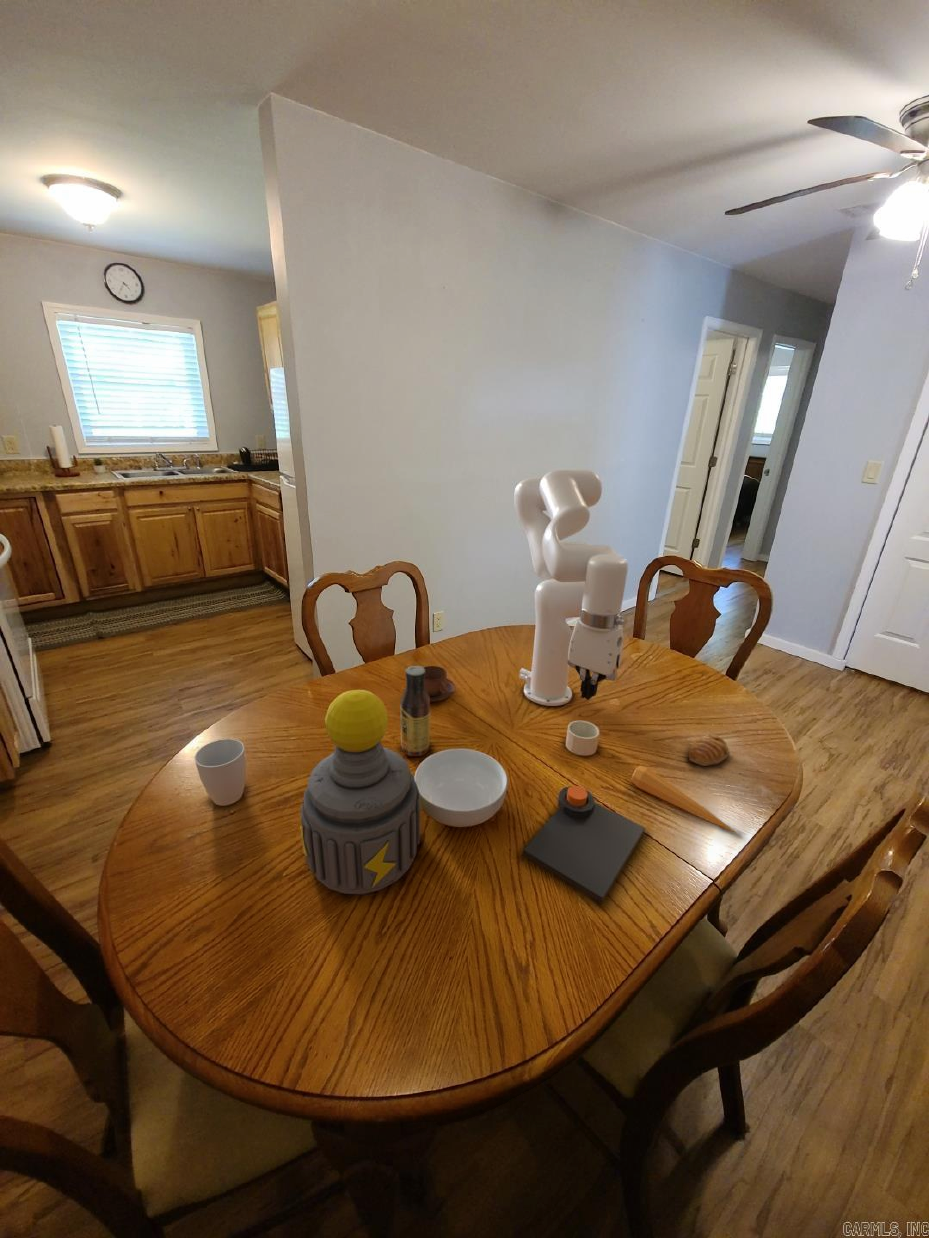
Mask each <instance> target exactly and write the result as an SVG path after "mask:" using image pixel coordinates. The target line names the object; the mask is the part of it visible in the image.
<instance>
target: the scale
mask: <svg viewBox="0 0 929 1238" xmlns="http://www.w3.org/2000/svg"><path fill="white" fill-rule="evenodd" d="M571 786H572V785H568V786H565V787H563V788H562V789H561V790H560V791H559V792H558V796H557V806H558V809H557V810H556V812H554V813H553V815H552V816H551V817H550V818H549V819H548V820H547V822H546V823H545V824H544V825H543V827H542V828H541V829H540V830H539V831H538V832H537V833H536V835H534V837H533V838H532V839H531V840H530V841H529V843H528V844H527V845H526V846H525V847H524V849H523V852H522V856H523V857H525V858H526V859H528V860H529V861H531V862H532V863H534V864H535V865H537V866H539V867H540V868H542V869H544V870H546V871H547V872H549V874H552V875H553V876H555V877H557V878H559V879H560V880H561V881H563V882H565V883H567V884H568V885H570V886H571V887H572V888H574V889H576V890H578V891H579V892H581V893H583V894H584V895H585V896H587V897H589V898H590V899H592V900H594V901H595V902H597V903H599V904H600V905H602V904H603V903H604V901H605V900H606V898H607V896H608V895H609V893H610V892H611V890H612V888H613V886H614V884H615V883H616V882H617V880H618V878H619V876H620V875H621V873H622V871H623V869H624V868H625V866H626V865H627V863H628V861H629V860H630V858H631V856H632V854H633V853H634V851H635V849H636V848H637V846H638V844H639V843H640V841H641V839H642V838H643V837H644V834H645V832H646V831H645V830H646V827H644V826H642V825H641V824H639V823H636V822H635V821H632V820H631V819H628V818H627V817H625V816H623V815H620V814H619V813H617V812H614V810H613V811H612V810H610V809H609V808H606V807H604V806H602V805H601V804H599V803H596V801H595V797H594V795H593V794H592V793H591V792H590V791H589V790H588V789H585V790H586V791H587V794H588V795H587V801H586V804H585V805H584V806H582V807H577V806H573V805H571V804H569V803H568V801H567V791H568V788H569V787H571Z"/></svg>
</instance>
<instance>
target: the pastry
mask: <svg viewBox="0 0 929 1238" xmlns="http://www.w3.org/2000/svg"><path fill="white" fill-rule="evenodd" d="M730 755H731V752H730V750H729V747H728V744H727V742H726V740H725V739H723V738H722V737H720V736H718V735H713V734H706V735H704V736H702V737H700V738H697V739H696V740H695V741H694V742H693V743H692V744H691V746H690V749H689V752H688V760H689V761H691V762H693V763H695V764H697V765H700V766H703V767H709V766H714V765H718V764H719V763H721V762H722V761H725V760H726V759H727V758H728V757H729V756H730Z"/></svg>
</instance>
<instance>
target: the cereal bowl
mask: <svg viewBox="0 0 929 1238" xmlns="http://www.w3.org/2000/svg"><path fill="white" fill-rule="evenodd" d="M413 777H414V780H415V782H416V784H417V787H418V790H419V794H420V804H421V807H422V811H423V812H425V814H426V815H428V817H430V818H431V819H433V820H435V821H436V822H438V823H439V824H442V825H445V826H449V827H455V828H466V827H467V828H469V827H474V826H478V825H481V824H482V823H484V822H486V821H488V820H490V819H491V818H493V817H494V815H496V813H497V812H498V811H499V810H500V809H501V807H502V806H503V804H504V801H505V799H506V795H507V791H508V782H509V781H508V775H507V773H506V771H505V768H504V767H503V766H502V765H501V763H500V762H499V761H497V760H496V759H495V758H493V757H492V756H490V755H488V754H486V753H484V752H482V751H478V750H474V749H469V748H450V749H444V750H440V751H438V752H435V753H433V754H430V755H429V756H427V757H426V758H425V759H424V760H423V761H422V762H421V763H419V765H418V767H417V768H416V770H415V773H414V776H413Z"/></svg>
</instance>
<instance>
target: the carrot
mask: <svg viewBox="0 0 929 1238" xmlns="http://www.w3.org/2000/svg"><path fill="white" fill-rule="evenodd" d="M630 776H631V783H632V784H634V786H635V787H637V788H638V789H640V790H641V791H644V792H646V793H648V794H650V795H653V796H655V797H657V798H658V799H661V800H663V801H665V802H667V803H669V804H671V805H673V806H676V807H678V808H680V809H682V810H684V811H686V812H688V813H689V814H692V815H694V816H696V817H698V818H700V819H703V820H705V821H707V822H710V823H712V824H714V825H716V826H718V827H720V828H723V829H725V830H728V831H731V832H733V833H736V834H737V832H736V831H735V829H732V828H731V827H730V826H729V825H727V824H726V823H725V822H723V821H722V820H721V819H720V818H718V817H717V816H716V815H714V814H713V813H712V812H710V810H708V809H707V808H705V807H704V806H702V805H700V804H699V803H698V802H696V801H695V800H694V799H692V798H691V797H690V796H688V795H687V794H685V793H684V792H682V791H681V790H679V789H678V788H677V787H675V786H673V785H672V784H671V783H670V782H668V781H667V780H665V779H664V778H662V777H661V776H660V775H658V774H657V773H655V772H654V771H652V770H651V769H650V768H649V767H646V766H643V765H639V766H638V767H636V768H634V769H633V771H632V772H631V775H630Z"/></svg>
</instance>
